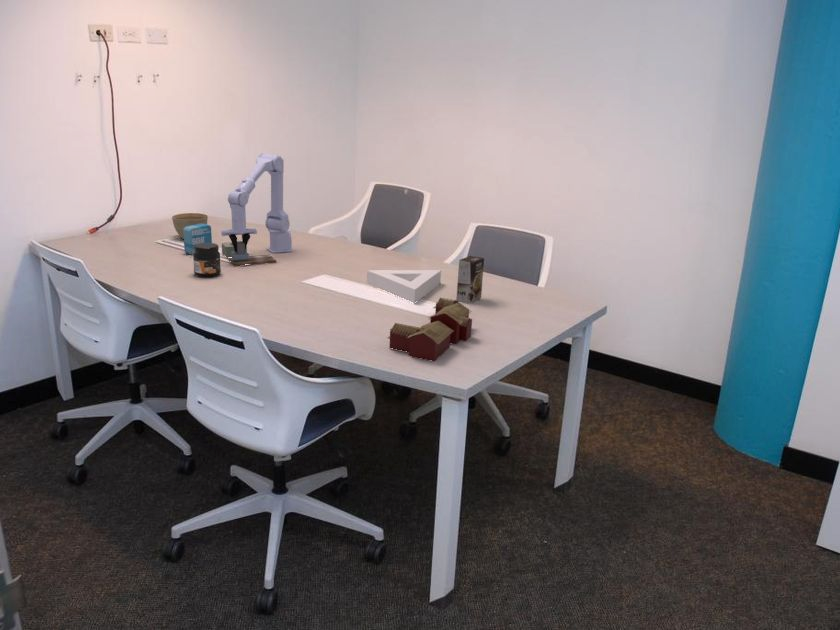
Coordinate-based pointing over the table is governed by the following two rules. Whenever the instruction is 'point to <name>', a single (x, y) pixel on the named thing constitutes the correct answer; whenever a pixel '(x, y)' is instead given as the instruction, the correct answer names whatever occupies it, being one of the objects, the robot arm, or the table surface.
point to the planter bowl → (188, 221)
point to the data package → (196, 236)
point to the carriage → (240, 252)
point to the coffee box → (470, 279)
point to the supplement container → (206, 260)
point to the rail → (254, 260)
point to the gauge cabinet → (228, 249)
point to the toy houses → (434, 331)
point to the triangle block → (405, 282)
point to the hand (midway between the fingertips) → (239, 251)
